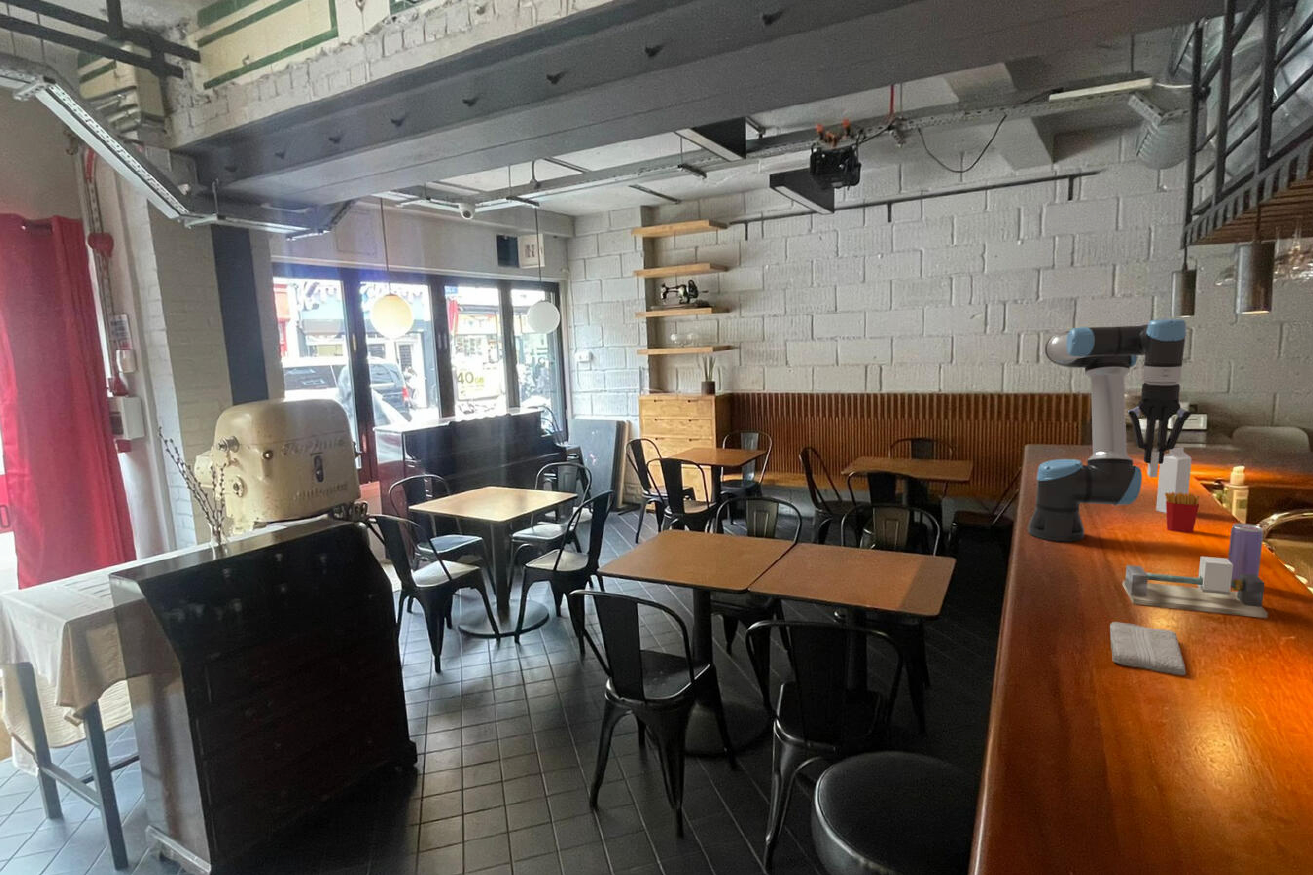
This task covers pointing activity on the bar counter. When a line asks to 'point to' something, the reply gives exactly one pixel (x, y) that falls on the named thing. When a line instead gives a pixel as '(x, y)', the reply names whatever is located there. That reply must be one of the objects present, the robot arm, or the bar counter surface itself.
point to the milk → (1173, 476)
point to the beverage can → (1245, 549)
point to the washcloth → (1146, 648)
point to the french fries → (1181, 511)
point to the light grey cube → (1215, 575)
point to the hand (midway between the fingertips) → (1152, 475)
